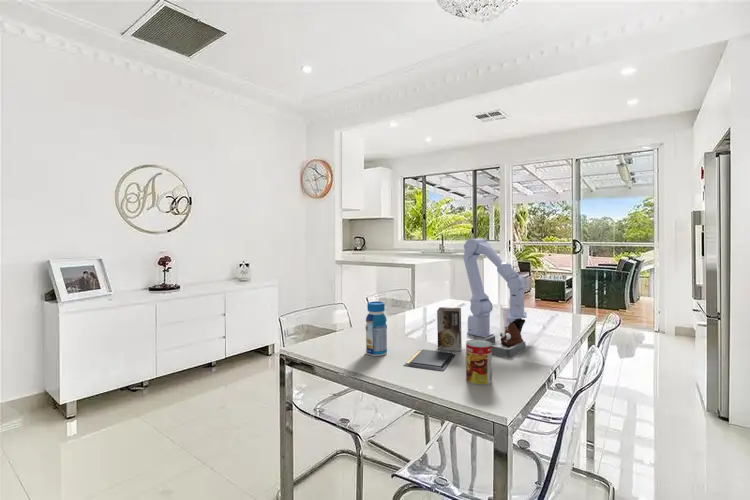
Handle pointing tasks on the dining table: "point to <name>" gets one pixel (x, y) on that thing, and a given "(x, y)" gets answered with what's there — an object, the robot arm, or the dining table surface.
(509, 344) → the poop emoji
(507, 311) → the smoothie
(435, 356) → the dark gray flat slab
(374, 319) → the beverage bottle
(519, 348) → the box
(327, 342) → the dining table surface
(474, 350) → the canned food
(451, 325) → the coffee box
